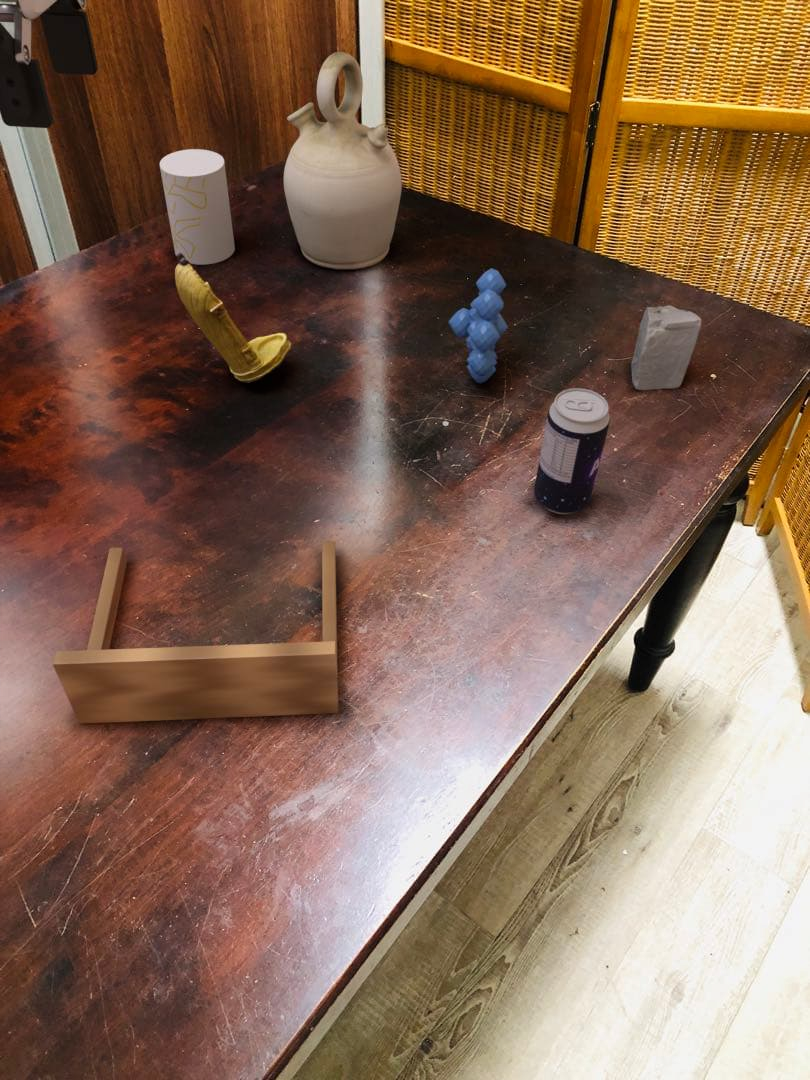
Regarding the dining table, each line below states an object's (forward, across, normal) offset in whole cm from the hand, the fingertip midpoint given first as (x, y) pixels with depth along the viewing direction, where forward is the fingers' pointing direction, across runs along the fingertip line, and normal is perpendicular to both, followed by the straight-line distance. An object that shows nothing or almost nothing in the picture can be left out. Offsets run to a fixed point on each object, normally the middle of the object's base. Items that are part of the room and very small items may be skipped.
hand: (54, 97), depth 61 cm
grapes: (+37, -24, +32) cm, 55 cm away
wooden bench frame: (+37, +17, +10) cm, 42 cm away
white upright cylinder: (+37, -48, -5) cm, 61 cm away
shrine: (+37, -20, +6) cm, 43 cm away
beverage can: (+37, -2, +41) cm, 56 cm away
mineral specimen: (+37, -25, +53) cm, 70 cm away
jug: (+37, -50, +14) cm, 64 cm away
